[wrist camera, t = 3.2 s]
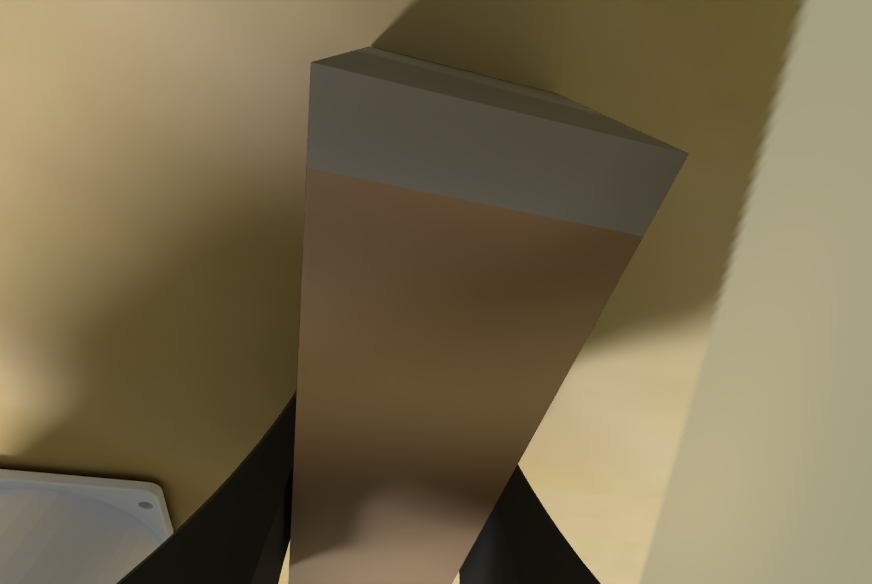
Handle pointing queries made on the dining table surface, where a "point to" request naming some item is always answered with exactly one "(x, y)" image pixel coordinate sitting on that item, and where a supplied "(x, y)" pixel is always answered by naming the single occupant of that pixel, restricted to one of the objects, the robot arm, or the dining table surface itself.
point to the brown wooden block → (443, 299)
